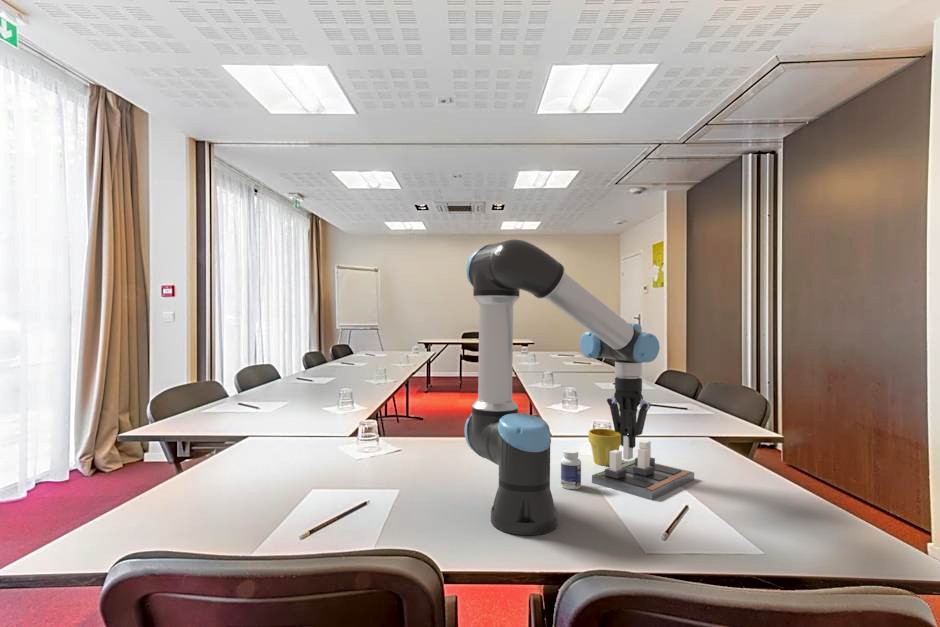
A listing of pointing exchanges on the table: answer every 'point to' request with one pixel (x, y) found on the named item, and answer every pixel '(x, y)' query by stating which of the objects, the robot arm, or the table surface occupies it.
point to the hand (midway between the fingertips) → (628, 458)
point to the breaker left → (615, 465)
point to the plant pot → (603, 444)
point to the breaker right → (645, 445)
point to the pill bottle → (570, 470)
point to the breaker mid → (643, 462)
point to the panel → (646, 480)
